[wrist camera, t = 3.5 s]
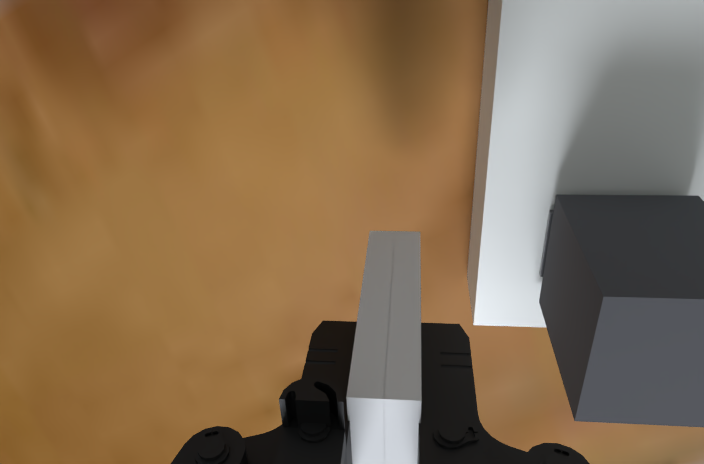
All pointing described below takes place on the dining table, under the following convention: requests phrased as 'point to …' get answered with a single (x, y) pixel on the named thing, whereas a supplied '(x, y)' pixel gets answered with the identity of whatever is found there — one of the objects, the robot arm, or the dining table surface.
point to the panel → (576, 128)
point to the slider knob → (628, 306)
